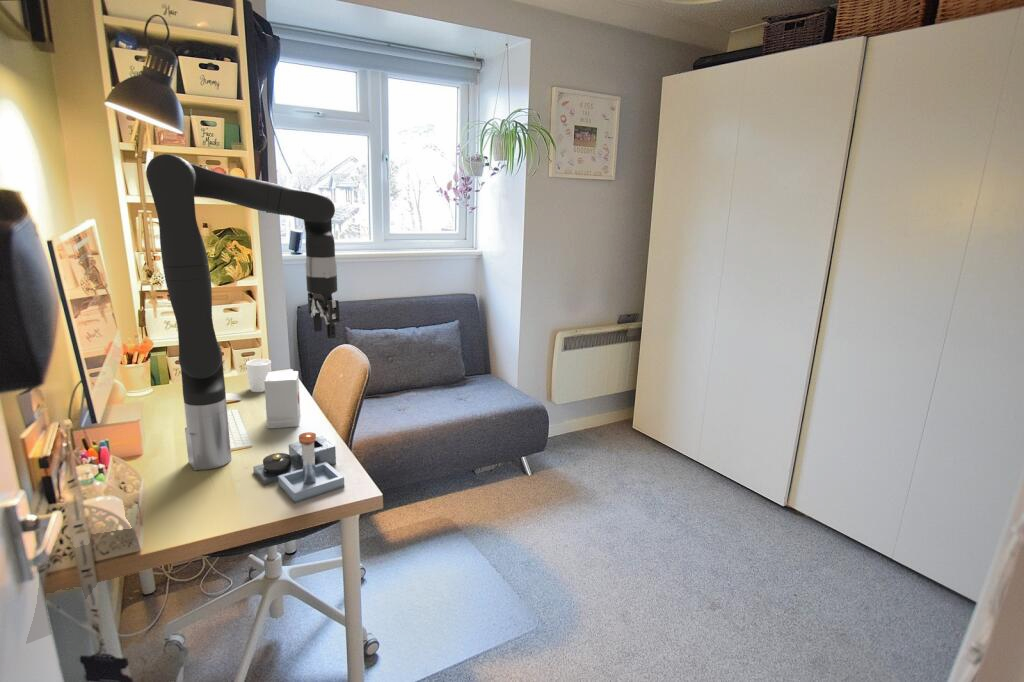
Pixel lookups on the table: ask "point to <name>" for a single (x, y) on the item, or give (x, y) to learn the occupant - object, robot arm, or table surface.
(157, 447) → the table surface
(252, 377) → the white cup
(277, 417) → the supplement box
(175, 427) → the table surface
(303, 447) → the pin
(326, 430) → the table surface
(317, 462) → the block
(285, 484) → the parts tray
